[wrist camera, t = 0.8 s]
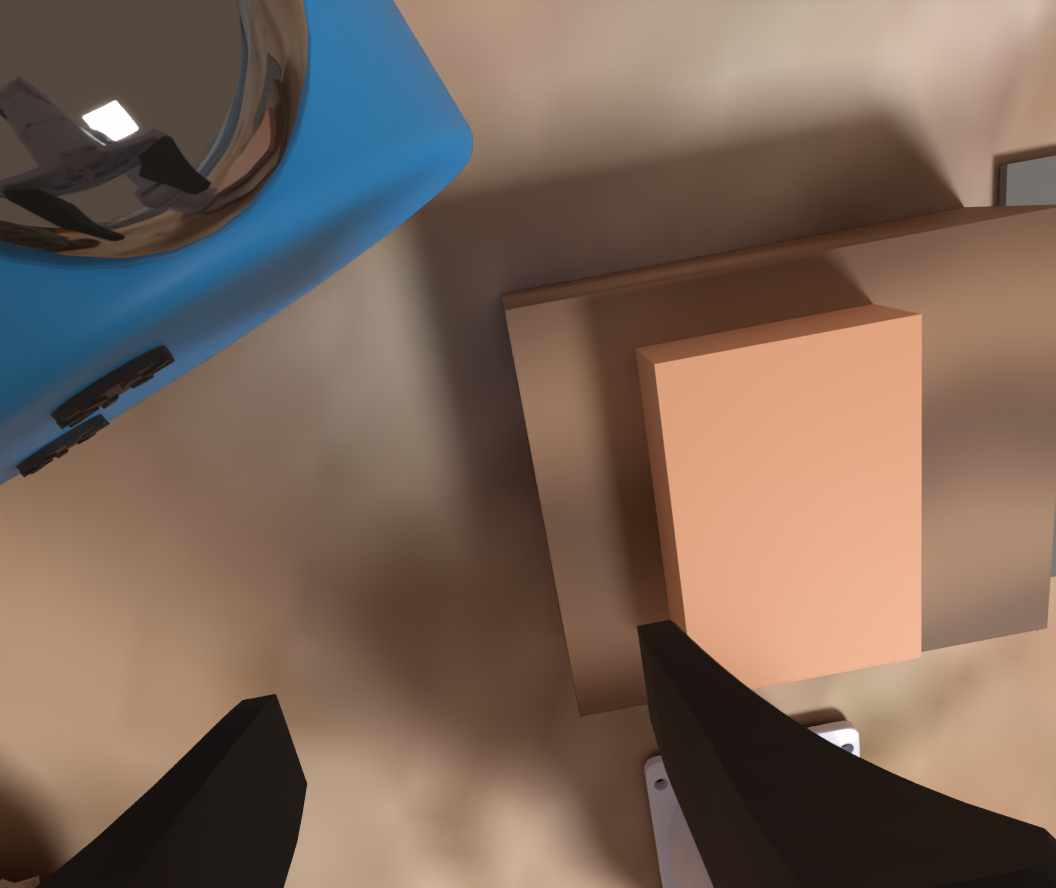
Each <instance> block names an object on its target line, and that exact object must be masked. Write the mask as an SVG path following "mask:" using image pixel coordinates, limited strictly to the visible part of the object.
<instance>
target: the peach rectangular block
mask: <svg viewBox="0 0 1056 888" xmlns="http://www.w3.org/2000/svg"><path fill="white" fill-rule="evenodd" d="M635 350H636V358H637V365H638V373H639V381H640V388H641V396H642V404H643V412H644V419H645V427H646V435H647V443H648V450H649V458H650V466H651V473H652V481H653V489H654V497H655V504H656V512H657V520H658V528H659V535H660V543H661V551H662V558H663V566H664V574H665V582H666V589H667V597H668V605H669V613H670V620H671V621H673V622H674V623H676V624H677V625H678V626H679V627H680V628H681V629H682V630H683V631H684V632H685V633H686V634H687V635H688V636H689V637H690V638H691V639H692V640H693V641H694V642H696V643H697V644H698V645H699V646H700V647H701V648H702V649H703V650H704V651H705V652H706V653H708V654H709V655H710V656H711V657H712V658H713V659H714V660H715V661H717V662H718V663H719V664H720V665H721V666H722V667H724V668H725V669H726V670H727V671H729V672H730V673H731V674H732V675H734V676H735V677H736V678H737V679H738V680H740V681H741V682H742V683H743V684H745V685H746V686H747V687H748V688H750V689H756V688H762V687H767V686H772V685H777V684H783V683H788V682H793V681H799V680H804V679H809V678H814V677H820V676H825V675H830V674H835V673H841V672H846V671H851V670H857V669H862V668H867V667H872V666H878V665H883V664H888V663H893V662H899V661H904V660H909V659H915V658H920V657H921V548H922V314H919V313H914V312H910V311H905V310H900V309H895V308H890V307H886V306H881V305H876V304H870V305H865V306H859V307H854V308H849V309H843V310H838V311H833V312H827V313H822V314H817V315H811V316H806V317H801V318H795V319H790V320H785V321H779V322H774V323H769V324H763V325H758V326H753V327H747V328H742V329H737V330H731V331H726V332H721V333H715V334H710V335H705V336H699V337H694V338H689V339H683V340H678V341H673V342H667V343H662V344H657V345H651V346H646V347H641V348H635Z"/></svg>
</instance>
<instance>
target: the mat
mask: <svg viewBox="0 0 1056 888" xmlns="http://www.w3.org/2000/svg"><path fill="white" fill-rule="evenodd" d="M1054 204H1056V155H1053V156H1047V157H1042V158H1037V159H1031V160H1026V161H1021V162H1015V163H1010V164H1004V165H1000V184H999V206H1022V205H1054ZM1054 576H1056V500H1055V515H1054V530H1053V545H1052V560H1051V575H1050V577H1054Z"/></svg>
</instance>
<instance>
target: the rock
mask: <svg viewBox="0 0 1056 888" xmlns="http://www.w3.org/2000/svg"><path fill="white" fill-rule="evenodd" d="M39 884H40V879H39V876H36V877H33V878H30V879H27V880H23V881H20V882H17V883H13V882H10V881H8V880H5V879H2V880H0V888H35V887H36V886H38V885H39Z"/></svg>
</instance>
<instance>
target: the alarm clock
mask: <svg viewBox="0 0 1056 888" xmlns="http://www.w3.org/2000/svg"><path fill="white" fill-rule="evenodd" d="M472 149H473V135H472V133H471V130H470V127H469V125H468V124H467V122H466V120H465V119H464V117H463V115H462V114H461V112H460V110H459V109H458V107H457V105H456V104H455V102H454V100H453V99H452V97H451V95H450V94H449V92H448V90H447V89H446V87H445V85H444V84H443V82H442V81H441V79H440V77H439V76H438V74H437V72H436V71H435V69H434V67H433V66H432V64H431V62H430V61H429V59H428V57H427V56H426V54H425V52H424V51H423V49H422V47H421V46H420V44H419V42H418V41H417V39H416V38H415V36H414V34H413V33H412V31H411V29H410V28H409V26H408V24H407V23H406V21H405V19H404V18H403V16H402V14H401V13H400V11H399V9H398V8H397V6H396V4H395V3H394V1H393V0H0V485H1V484H3V483H5V482H6V481H8V480H10V479H12V478H14V477H15V476H17V475H19V474H22V476H23V477H26V476H27V475H29V474H33V473H35V472H37V471H38V470H40V469H41V468H43V467H44V466H45V465H47V464H48V463H50V462H51V461H53V458H54V457H57V458H60V457H62V456H63V455H65V454H66V453H67V452H68V450H67V449H69V448H70V447H72V446H73V445H75V444H77V443H78V444H80V443H82V442H84V441H86V440H87V439H89V438H91V437H92V436H94V435H95V434H96V432H97V431H99V430H101V429H102V428H104V427H106V426H107V425H109V424H110V423H109V421H110V420H112V419H113V418H115V417H117V416H118V415H120V414H122V413H123V412H125V411H126V410H128V409H130V408H131V407H133V406H134V405H136V404H138V403H139V402H141V401H143V400H144V399H146V398H147V397H149V396H151V395H152V394H154V393H155V392H157V391H158V390H160V389H162V388H163V387H165V386H166V385H168V384H170V383H171V382H173V381H174V380H176V379H177V378H179V377H181V376H182V375H184V374H185V373H187V372H188V371H190V370H191V369H193V368H195V367H196V366H198V365H199V364H201V363H202V362H204V361H205V360H207V359H208V358H210V357H212V356H213V355H215V354H216V353H218V352H219V351H221V350H222V349H224V348H225V347H227V346H228V345H230V344H231V343H233V342H234V341H236V340H238V339H239V338H241V337H242V336H244V335H245V334H247V333H248V332H250V331H251V330H253V329H254V328H256V327H257V326H259V325H260V324H262V323H263V322H265V321H266V320H267V319H269V318H270V317H272V316H273V315H275V314H276V313H278V312H279V311H281V310H282V309H284V308H285V307H287V306H288V305H290V304H291V303H293V302H294V301H295V300H297V299H298V298H300V297H301V296H303V295H304V294H306V293H307V292H308V291H310V290H311V289H313V288H314V287H316V286H317V285H318V284H320V283H321V282H323V281H324V280H326V279H327V278H328V277H330V276H331V275H333V274H334V273H335V272H337V271H338V270H340V269H341V268H343V267H344V266H345V265H347V264H348V263H349V262H351V261H352V260H354V259H355V258H356V257H358V256H359V255H360V254H362V253H363V252H365V251H366V250H367V249H369V248H370V247H371V246H373V245H374V244H375V243H377V242H378V241H379V240H381V239H382V238H383V237H385V236H386V235H387V234H389V233H390V232H391V231H393V230H394V229H395V228H397V227H398V226H399V225H400V224H402V223H403V222H404V221H406V220H407V219H408V218H409V217H411V216H412V215H413V214H414V213H416V212H417V211H418V210H419V209H421V208H422V207H423V206H424V205H425V204H427V203H428V202H429V201H430V200H431V199H432V198H434V197H435V196H436V195H437V194H438V193H439V192H440V191H441V190H442V189H444V188H445V187H446V186H447V185H448V184H449V183H450V182H451V181H452V180H453V179H454V178H455V177H456V176H457V175H458V174H459V173H460V171H461V170H462V169H463V168H464V167H465V165H466V164H467V162H468V160H469V158H470V155H471V153H472Z"/></svg>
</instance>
